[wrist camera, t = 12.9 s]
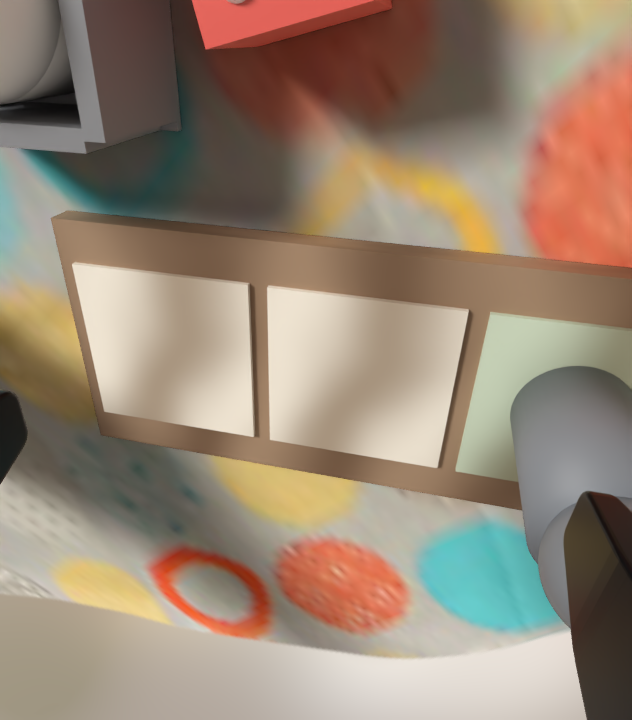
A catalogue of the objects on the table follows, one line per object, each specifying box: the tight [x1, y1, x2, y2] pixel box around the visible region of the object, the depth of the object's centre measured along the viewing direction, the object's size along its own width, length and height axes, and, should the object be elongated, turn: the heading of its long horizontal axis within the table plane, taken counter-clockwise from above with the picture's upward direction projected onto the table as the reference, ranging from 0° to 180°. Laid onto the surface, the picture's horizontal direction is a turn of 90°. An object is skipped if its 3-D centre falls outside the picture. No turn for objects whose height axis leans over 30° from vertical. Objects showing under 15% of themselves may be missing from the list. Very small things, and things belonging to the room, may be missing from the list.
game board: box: [51, 211, 632, 510], centre depth 20 cm, size 23×10×1 cm, turn 87°
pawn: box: [510, 366, 632, 628], centre depth 15 cm, size 4×4×8 cm
